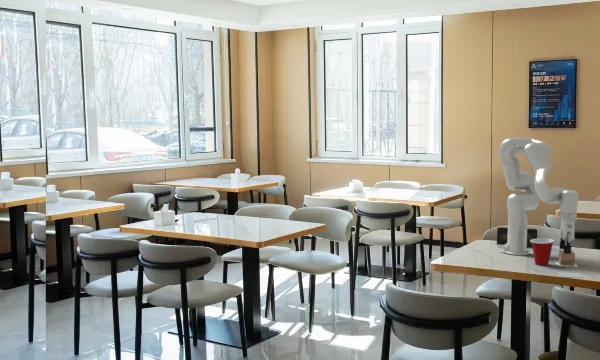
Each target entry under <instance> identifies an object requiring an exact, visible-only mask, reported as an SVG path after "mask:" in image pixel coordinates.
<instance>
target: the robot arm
mask: <svg viewBox="0 0 600 360" xmlns="http://www.w3.org/2000/svg"><path fill="white" fill-rule="evenodd" d="M498 149H499V150H498V152H499V154H498V155H499V157H500V161H501V164H502V168H503V175H504V179H505V180H504V181H505V184H506V187H507V188H508V189H509V190H511V191H520V192H514V193H510V194H509V195H508V197H507V200H506V207H507V216H508V217H507V228H508V239H507V243H506V244H504V245H497V249H500V250H503V253H504V254H507V255H512V256H513V255H514V256H527V255H530V251H529V250H527V247H526V245H527V229H528V216H527V213H526V211H533V210H536V209H537V208H538V207H539V204H540V201H542V203H544V204H548V205H549V204H560V205H559V217H558V218H559V219H560V230H559V237H560V239H559V250H564V252H563V253H565V254H571V251H572V242H574V241H575V229H576V226H575V225H576V224H575V223H576V222H575V221H577V217H578V216H577V215H578V205H579V204H578V203H579V192H578V191H577V190H572V189H566V188H564V187H550V186H549V184H548V183H547V181H546V175H547V174H548V173H549V172H550V171H551V170H552V165H551V163H550V161H549V160H548V158H550V156H551V155H552V148H551V146H550V144H548V143H547V142H545V141H541V140H539V139H538V140H537V139H534V138H532V137H531V138H530V137H516V136H515V137H509V138H505V139H504V140H503V141H502V142H501V144H500V146H499V148H498ZM516 155H524V156H525V158H526V160H527V162H528V163H529V165H530V167H531V169H532V171H533V173H534V175H533V173H531V172H530V171H522V168H521V163H520V161H519V159H518V157H516Z"/></svg>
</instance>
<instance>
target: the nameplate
mask: <svg viewBox="0 0 600 360" xmlns="http://www.w3.org/2000/svg"><path fill="white" fill-rule="evenodd" d="M507 239H508V227H503V226H502V227H501V226H500V227H499V226H498V227H497V228H496V245H497V246H498V245H504V244H506V243H507ZM532 239H538V229H537V228H527V245H526V248H533V247H532V244H531V242H530V240H532Z"/></svg>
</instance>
